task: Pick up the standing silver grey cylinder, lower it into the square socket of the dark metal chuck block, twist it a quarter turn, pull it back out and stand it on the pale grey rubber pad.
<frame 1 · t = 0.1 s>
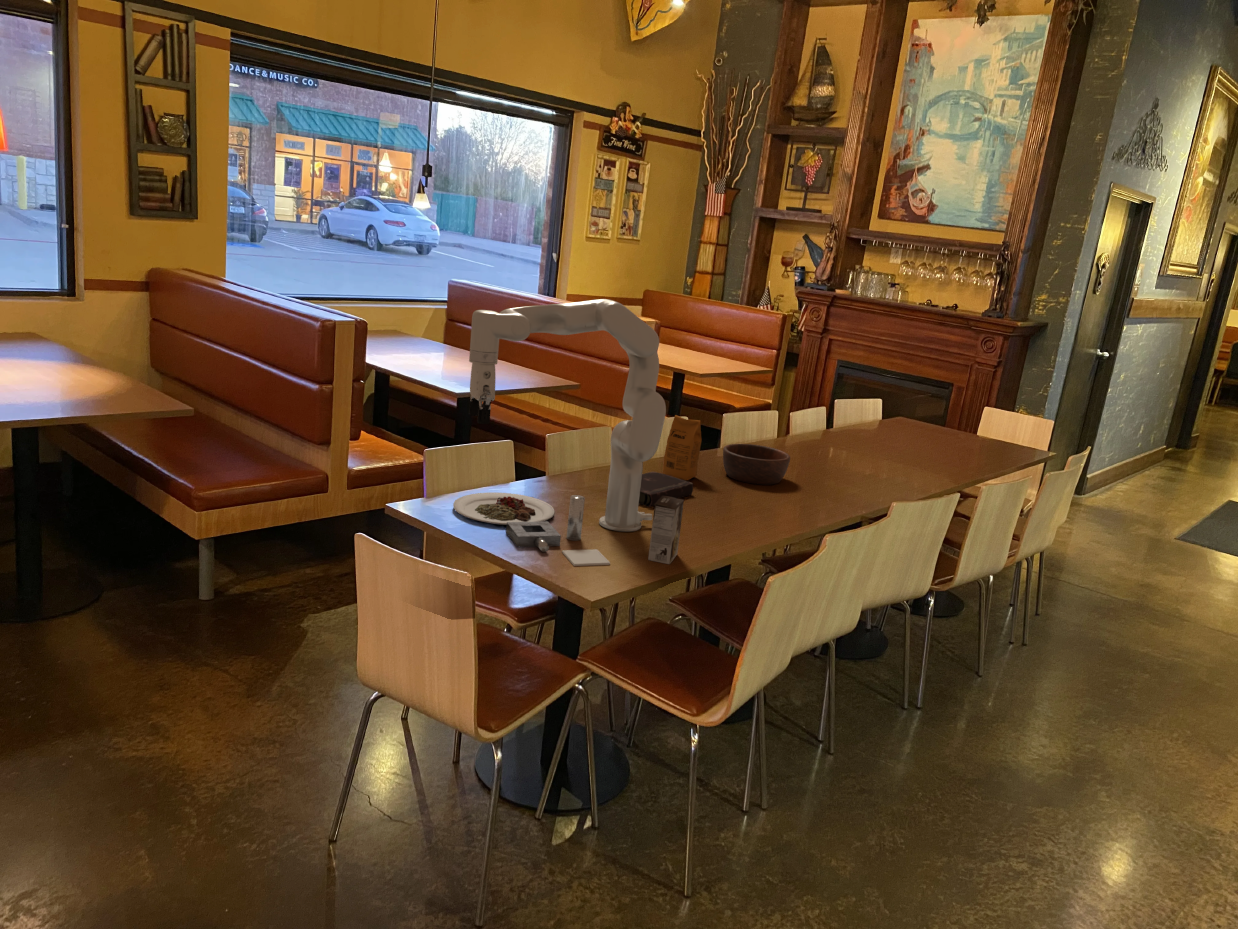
hand: (479, 419, 256), 31 cm above the table, tool pointing down, fingers open, 9 cm apart
diary: (649, 496, 317), on the table
chuck block: (532, 539, 260), on the table
pad: (585, 558, 249), on the table
plated food: (503, 513, 281), on the table
wooden bowl: (753, 478, 354), on the table
coffee box: (662, 558, 257), on the table
coffee package: (678, 476, 344), on the table
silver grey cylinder: (573, 538, 265), on the table
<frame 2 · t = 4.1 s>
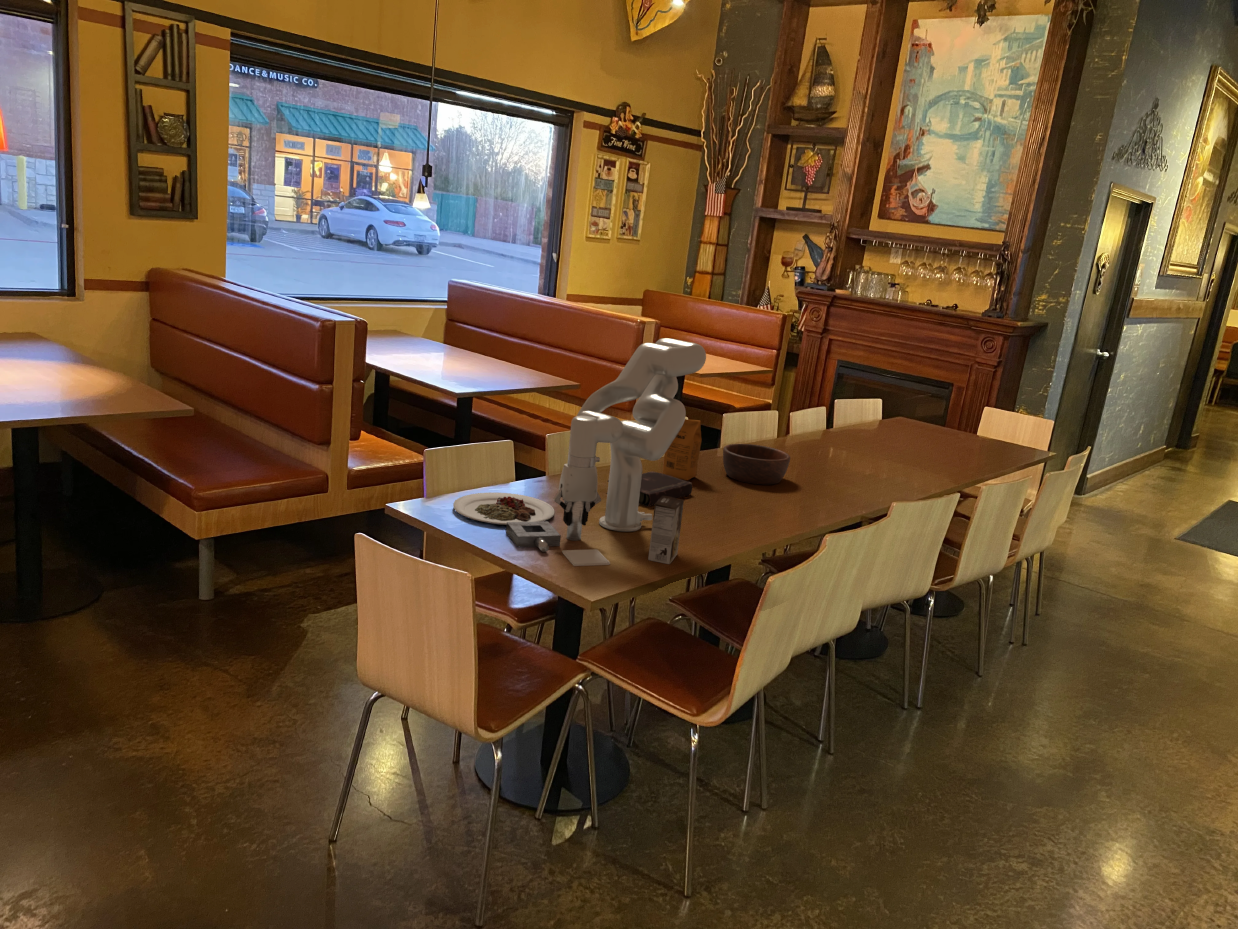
hand: (575, 523, 263), 4 cm above the table, tool pointing down, fingers closed on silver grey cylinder, 4 cm apart
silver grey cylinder: (573, 538, 264), on the table, touching gripper
everything else where it was.
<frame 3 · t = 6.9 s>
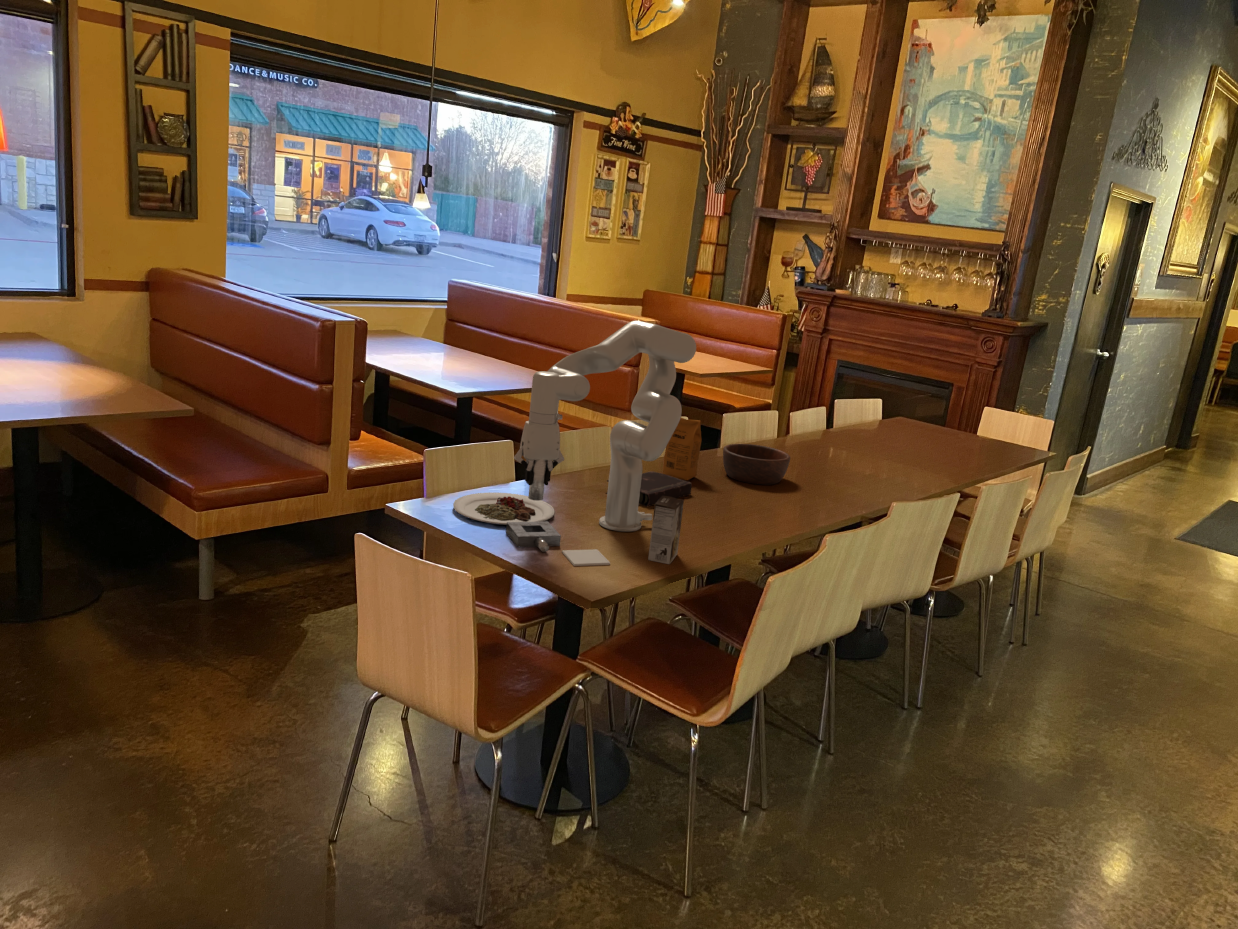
hand: (537, 483, 256), 16 cm above the table, tool pointing down, fingers closed on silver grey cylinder, 4 cm apart
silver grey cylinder: (535, 498, 257), point 12 cm above the table, touching gripper
everything else where it was.
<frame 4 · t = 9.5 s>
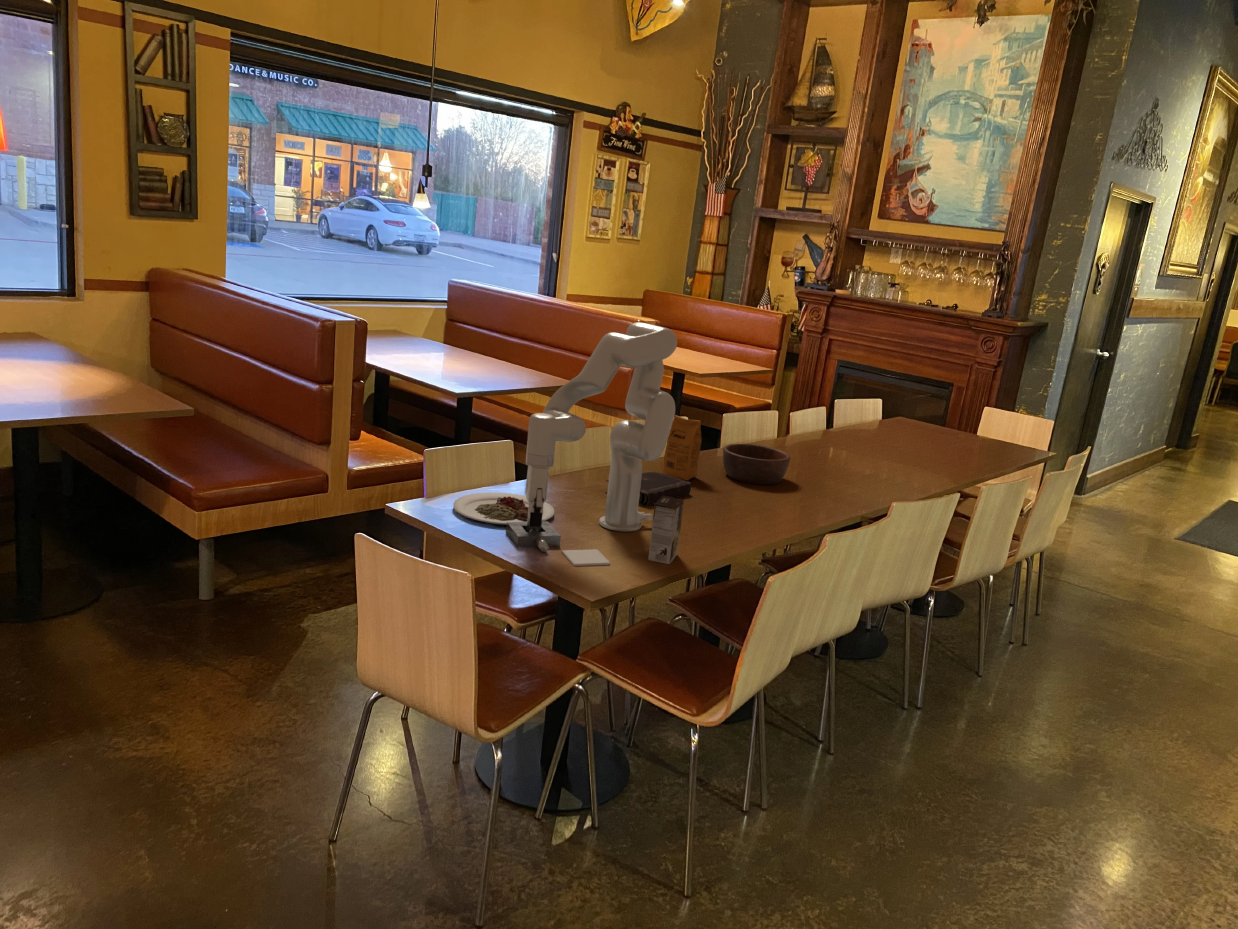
hand: (534, 522, 259), 5 cm above the table, tool pointing down, fingers closed on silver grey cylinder, 4 cm apart
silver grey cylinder: (533, 537, 260), resting in chuck block, touching gripper
everything else where it was.
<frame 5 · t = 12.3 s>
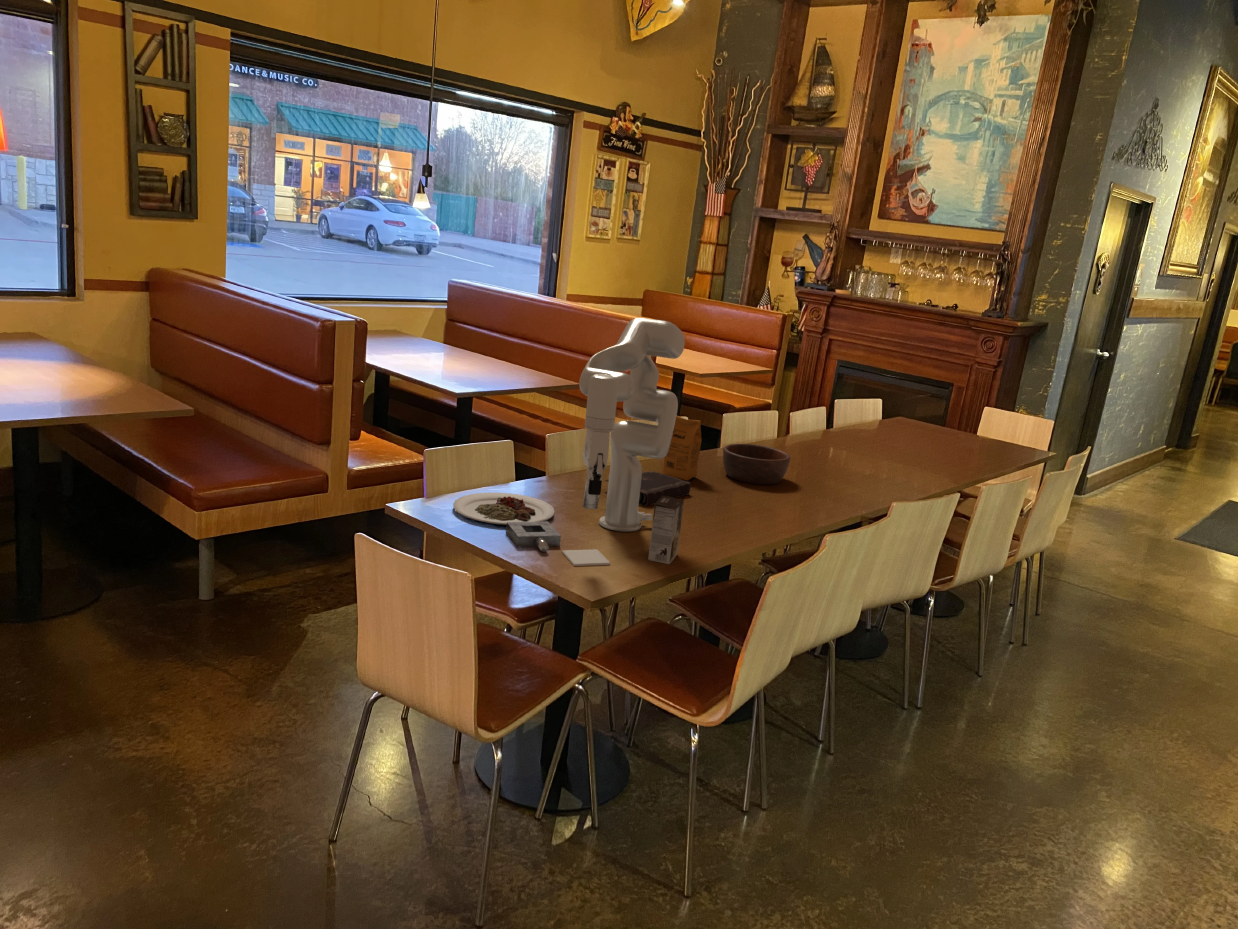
hand: (592, 491, 245), 19 cm above the table, tool pointing down, fingers closed on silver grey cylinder, 4 cm apart
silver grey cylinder: (590, 506, 246), point 14 cm above the table, touching gripper
when the fingers open (6 cm above the table, at t = 14.9 s): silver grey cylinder stays where it is, resting on pad.
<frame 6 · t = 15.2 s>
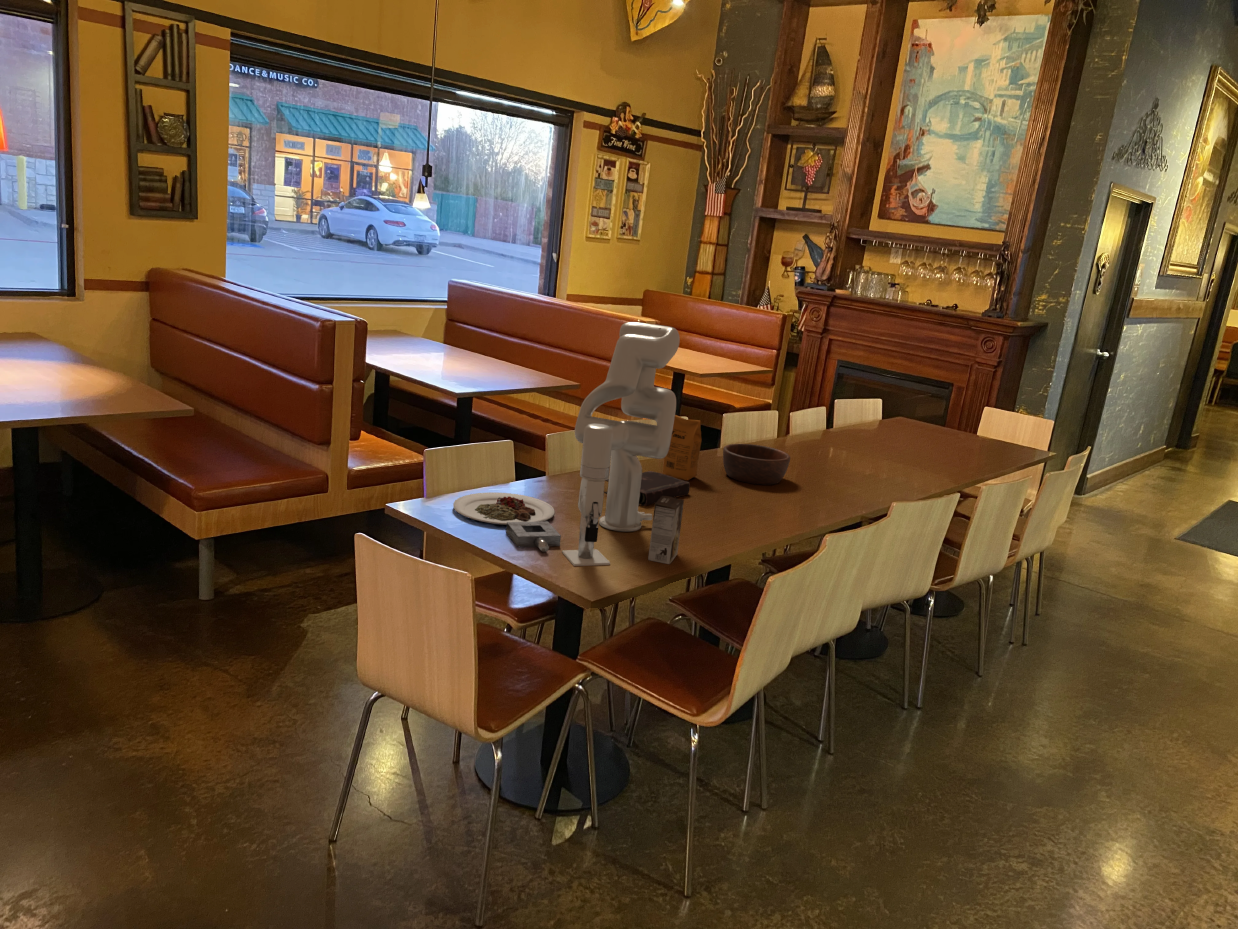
hand: (588, 535, 248), 6 cm above the table, tool pointing down, fingers open, 7 cm apart
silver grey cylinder: (585, 556, 249), point 1 cm above the table, touching pad
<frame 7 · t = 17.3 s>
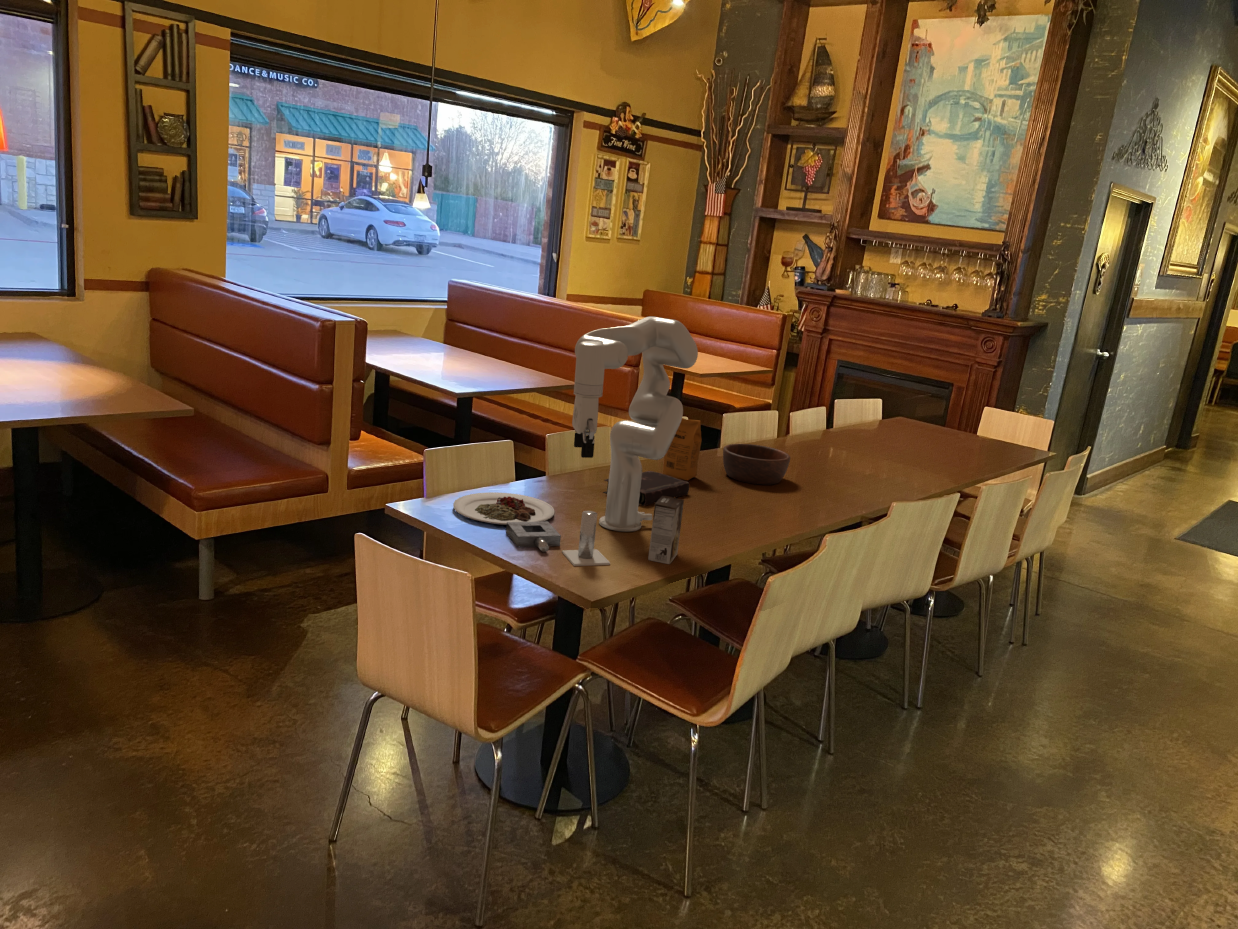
hand: (583, 452, 251), 27 cm above the table, tool pointing down, fingers open, 9 cm apart
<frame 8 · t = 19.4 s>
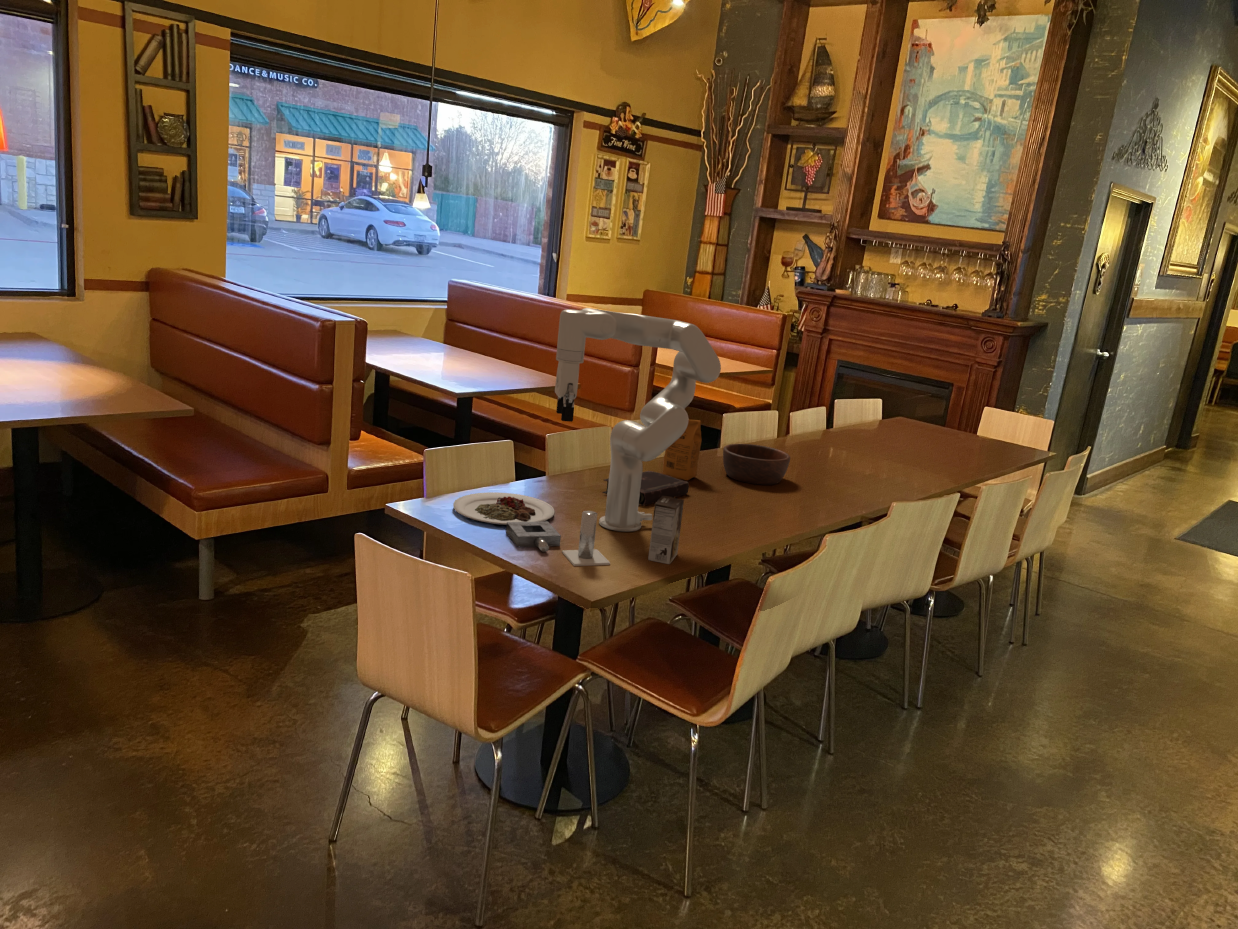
hand: (564, 417, 260), 33 cm above the table, tool pointing down, fingers open, 9 cm apart
at the end: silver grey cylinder inside the target area on the pad (0.1 cm from its centre), point 0.6 cm above the pad's base; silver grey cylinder tilted 0°; the gripper is holding nothing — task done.
